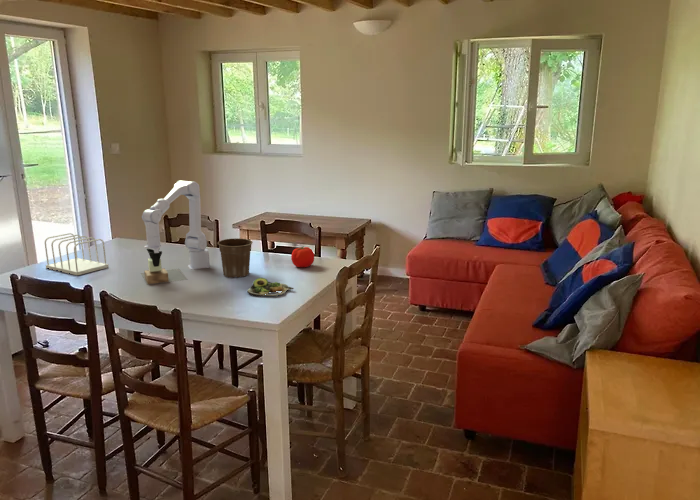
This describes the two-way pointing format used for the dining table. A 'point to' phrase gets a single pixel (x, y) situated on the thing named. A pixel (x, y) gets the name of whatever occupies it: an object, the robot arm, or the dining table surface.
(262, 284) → the salad plate
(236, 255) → the plant pot
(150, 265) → the sage cube
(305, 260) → the tomato
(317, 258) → the dining table surface
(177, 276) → the building mat
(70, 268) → the file sorter
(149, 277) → the walnut base block
